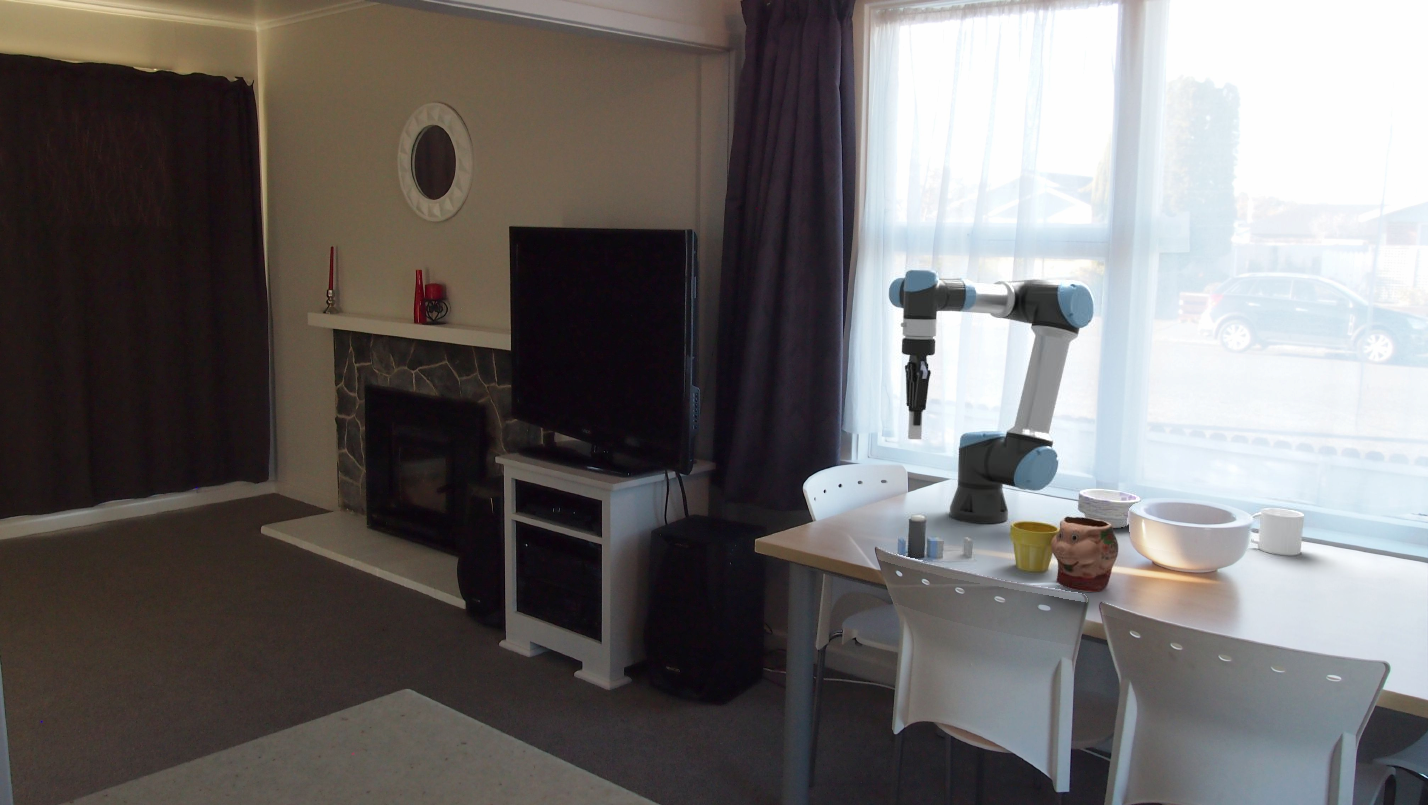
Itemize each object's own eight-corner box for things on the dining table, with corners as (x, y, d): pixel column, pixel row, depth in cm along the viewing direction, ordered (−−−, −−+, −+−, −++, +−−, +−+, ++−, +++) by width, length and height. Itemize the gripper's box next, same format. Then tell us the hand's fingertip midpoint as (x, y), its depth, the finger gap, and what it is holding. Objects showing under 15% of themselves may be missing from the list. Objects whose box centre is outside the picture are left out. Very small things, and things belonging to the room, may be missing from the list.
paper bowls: (1151, 526, 265) (1153, 496, 264) (1115, 534, 257) (1117, 503, 256) (1100, 514, 278) (1101, 485, 277) (1064, 521, 269) (1066, 492, 268)
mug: (1303, 549, 245) (1306, 512, 244) (1297, 558, 238) (1301, 519, 237) (1247, 541, 252) (1250, 504, 251) (1240, 549, 245) (1243, 511, 244)
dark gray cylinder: (921, 553, 235) (923, 514, 234) (926, 558, 231) (928, 518, 230) (905, 554, 234) (907, 514, 233) (910, 558, 231) (911, 518, 229)
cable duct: (965, 553, 238) (965, 534, 237) (976, 563, 230) (977, 543, 229) (893, 553, 236) (894, 534, 236) (902, 563, 228) (903, 544, 228)
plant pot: (1057, 565, 229) (1060, 523, 228) (1056, 578, 219) (1059, 534, 218) (1009, 560, 232) (1011, 518, 231) (1006, 573, 223) (1009, 529, 221)
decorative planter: (1078, 568, 227) (1082, 507, 225) (1133, 581, 218) (1137, 517, 217) (1035, 587, 213) (1039, 522, 211) (1091, 601, 204) (1096, 534, 202)
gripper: (895, 335, 240) (891, 434, 243) (910, 339, 227) (906, 443, 230) (926, 335, 241) (922, 434, 244) (943, 339, 228) (938, 443, 231)
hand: (914, 438), depth 237 cm, fingers closed
